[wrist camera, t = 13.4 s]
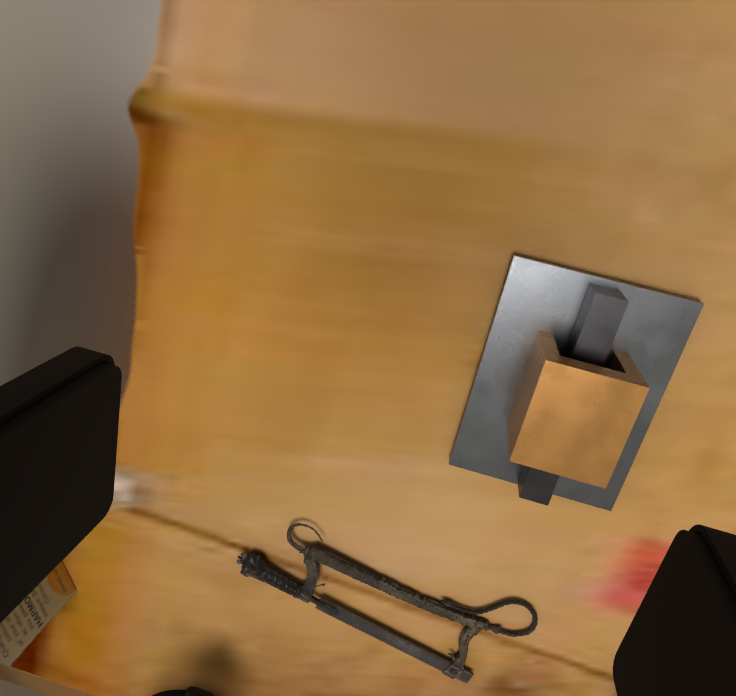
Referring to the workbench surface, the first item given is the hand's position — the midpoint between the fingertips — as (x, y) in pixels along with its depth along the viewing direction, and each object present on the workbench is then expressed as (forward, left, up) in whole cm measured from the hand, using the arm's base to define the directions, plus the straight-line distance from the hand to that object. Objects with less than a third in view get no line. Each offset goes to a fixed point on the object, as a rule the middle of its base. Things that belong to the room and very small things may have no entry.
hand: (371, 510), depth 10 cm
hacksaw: (+35, +1, -33) cm, 48 cm away
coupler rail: (+9, +10, -32) cm, 35 cm away
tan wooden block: (+9, +10, -31) cm, 34 cm away
